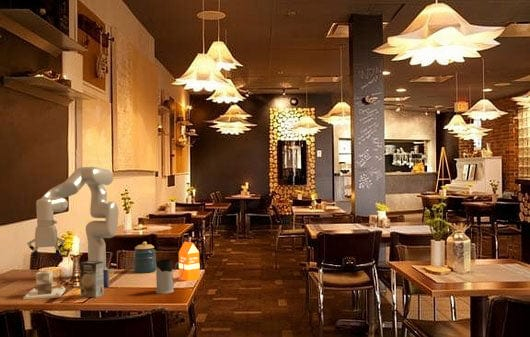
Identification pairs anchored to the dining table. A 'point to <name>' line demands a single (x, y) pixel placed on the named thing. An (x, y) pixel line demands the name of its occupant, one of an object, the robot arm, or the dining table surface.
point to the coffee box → (92, 279)
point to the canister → (144, 258)
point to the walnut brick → (44, 288)
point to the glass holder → (165, 276)
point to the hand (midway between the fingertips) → (46, 258)
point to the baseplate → (34, 294)
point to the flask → (106, 277)
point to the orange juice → (189, 262)
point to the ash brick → (44, 277)
